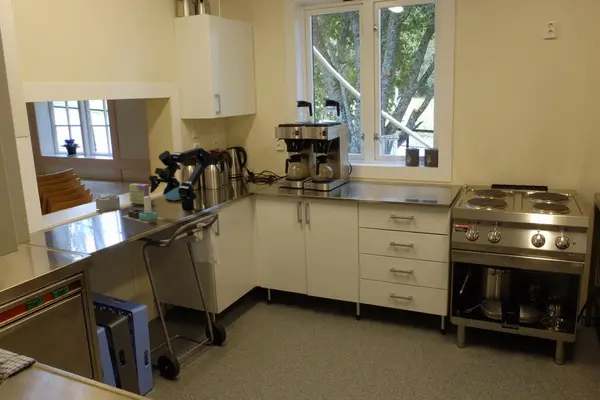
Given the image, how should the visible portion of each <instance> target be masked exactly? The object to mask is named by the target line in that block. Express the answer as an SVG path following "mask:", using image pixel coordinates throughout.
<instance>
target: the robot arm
mask: <svg viewBox="0 0 600 400" xmlns="http://www.w3.org/2000/svg"><path fill="white" fill-rule="evenodd" d="M194 157H196V159H197V163H196V166H195V168H194V170H193V171H192V172H191V174H190V176H189V177H188V179H187V181H185V182H186V183H185V182H180V181H179V180H178V179H177V178H176V175H175V174H176V173H177V170H179V171H180V170H181V169H182V168H181V165H180V164H183V163H185V162H187V160H189V159H191V158H194ZM158 159H159V161H160V162H161V163H162V164H163V165H164V166H165V167H164V168H161V167H155V169H154V174H155V175H153V174H150V175H149V177H148V180H149V182H150V183H151V185H150V189H149V194H153V193H154V192H155V190H157V188H159V186H160V184H161V183H164V184H167V186H166V188H165V190H164V189H163V192H162V195H163V196H164V195H165V194H167V193H168V192H170V191H171V190H173V189H176V187H177V188H179V190H178V193H179V196H180V198H182V199H183V200H181V208H182V210H183V211H188V210H189V211H191V210H192V211H193V210H195V206H194V205H195V203H194V202H195V200H196V199H197V197H198V196H197V194H196V191H195V185H196V183H197V182H198V181H199V179H200V177H201V176H202V174H203V172H204V171H205V169H206V168H207V167H209V166H210V165H211V164H212V163H213V161H214V158H213V155H212V154H211V153H210V152H208V151H206V150H205V149H204V148H203V147H198V146H197V147H194V148H192V149H188V150H185V151H176V152H172V154H171V153H170V151H169V150H164V151H163V152H161V153H160V154H159V155H158ZM180 184H181V186H180ZM179 186H180V187H179Z"/></svg>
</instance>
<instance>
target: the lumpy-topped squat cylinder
mask: <svg viewBox="0 0 600 400" xmlns="http://www.w3.org/2000/svg"><path fill="white" fill-rule="evenodd" d="M95 208H96V209H99V210H101V211H102V212H105V211H110V210H120V208H121V199H120V195H117V194H114V193H109V194H107V193H106V194H105V193H102V195H99V196H97V197H95ZM101 211H100V212H101ZM102 212H101V213H102Z"/></svg>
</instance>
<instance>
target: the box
mask: <svg viewBox="0 0 600 400" xmlns="http://www.w3.org/2000/svg"><path fill="white" fill-rule="evenodd" d="M128 186H129V203H130V202H133V203H132V204H137V205H144V197H146V196H150V185H149V184H148V183H147V184H145V183H135V182H134V183H130V184H129V185H128Z"/></svg>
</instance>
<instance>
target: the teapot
mask: <svg viewBox="0 0 600 400" xmlns="http://www.w3.org/2000/svg"><path fill="white" fill-rule="evenodd" d="M186 182H187V181H185V182H184V183H186ZM181 184H182V183H180V186H181ZM166 186H167V183H165V184H164V187H163V191H164V190H165V188H166ZM180 186H179V187H180ZM178 190H179V188H177V187H176V189H173V190H171V191H170V192H168V193H167V194H165V195H163V198H165V199H168V200H167V201H170V200H171V201H172V202H176V201H177V200H179V201H181V200H180V199H182V198H180V196H179V193H178Z"/></svg>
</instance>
